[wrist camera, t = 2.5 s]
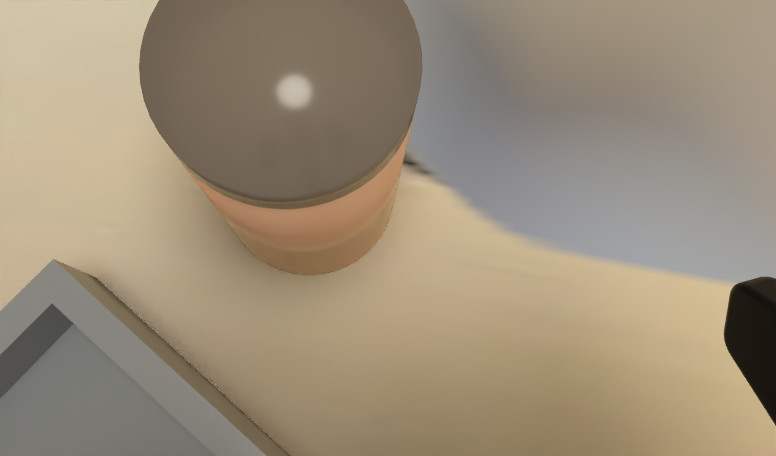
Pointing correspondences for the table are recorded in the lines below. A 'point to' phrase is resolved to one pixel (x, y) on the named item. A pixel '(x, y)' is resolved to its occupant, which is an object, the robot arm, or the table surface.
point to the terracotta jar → (288, 117)
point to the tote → (105, 381)
